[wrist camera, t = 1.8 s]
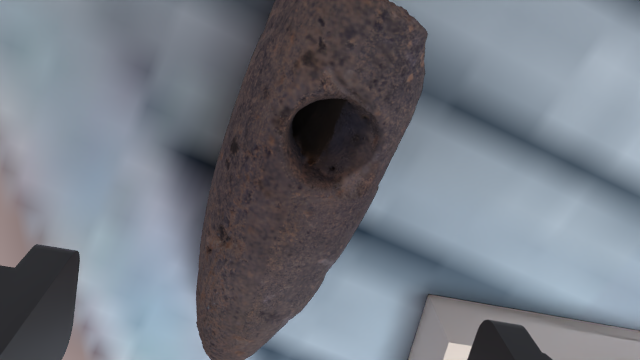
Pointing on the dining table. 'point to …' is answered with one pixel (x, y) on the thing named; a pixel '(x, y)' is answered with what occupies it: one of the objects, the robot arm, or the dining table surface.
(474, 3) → the dining table surface
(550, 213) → the dining table surface
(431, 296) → the tray
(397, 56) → the perforated stone tool
